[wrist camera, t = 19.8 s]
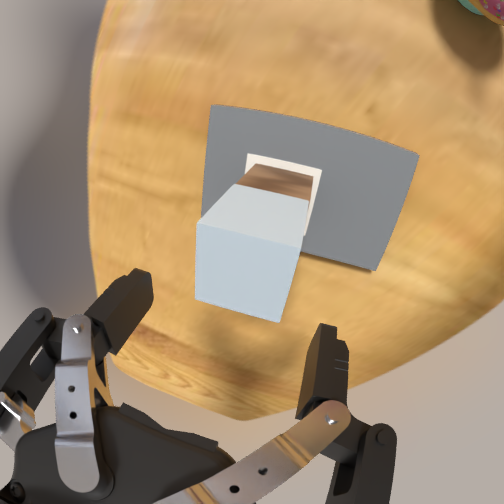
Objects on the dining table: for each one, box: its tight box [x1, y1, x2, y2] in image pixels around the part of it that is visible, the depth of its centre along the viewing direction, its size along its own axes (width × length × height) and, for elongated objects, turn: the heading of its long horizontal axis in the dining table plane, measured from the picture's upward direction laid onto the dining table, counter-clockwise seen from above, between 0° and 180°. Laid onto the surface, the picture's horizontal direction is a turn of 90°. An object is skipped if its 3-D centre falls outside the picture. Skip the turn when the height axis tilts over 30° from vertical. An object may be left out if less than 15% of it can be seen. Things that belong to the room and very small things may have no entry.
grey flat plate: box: [201, 105, 419, 271], centre depth 24 cm, size 18×12×1 cm, turn 82°
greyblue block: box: [195, 184, 309, 323], centre depth 17 cm, size 5×5×6 cm
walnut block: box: [236, 163, 314, 212], centre depth 22 cm, size 5×5×6 cm
